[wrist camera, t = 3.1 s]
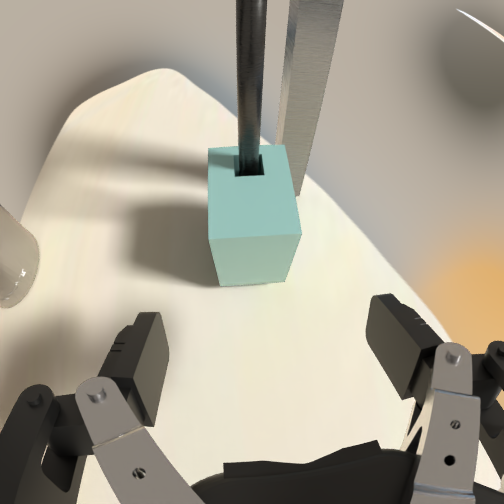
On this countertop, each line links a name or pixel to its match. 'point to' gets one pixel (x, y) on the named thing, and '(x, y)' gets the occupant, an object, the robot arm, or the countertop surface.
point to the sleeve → (251, 217)
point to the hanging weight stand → (284, 79)
